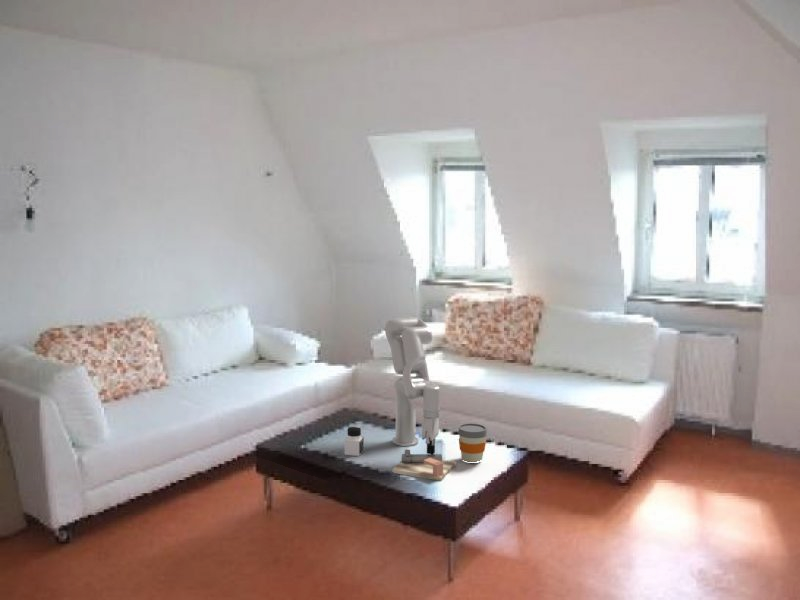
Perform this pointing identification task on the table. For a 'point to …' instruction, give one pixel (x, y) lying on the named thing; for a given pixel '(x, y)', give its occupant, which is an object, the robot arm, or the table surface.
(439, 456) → the steel link
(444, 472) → the birch board
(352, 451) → the medicine bottle
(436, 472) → the keeper
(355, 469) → the table surface
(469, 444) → the reusable coffee cup
